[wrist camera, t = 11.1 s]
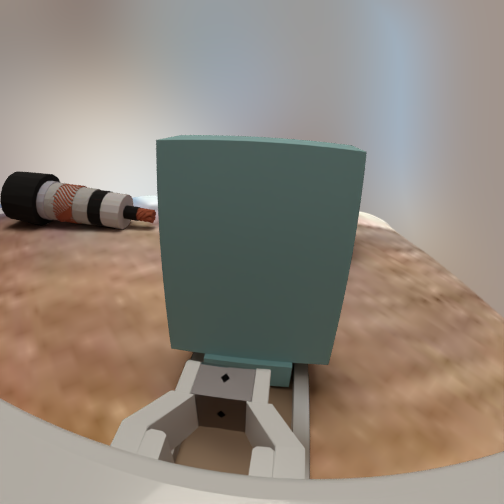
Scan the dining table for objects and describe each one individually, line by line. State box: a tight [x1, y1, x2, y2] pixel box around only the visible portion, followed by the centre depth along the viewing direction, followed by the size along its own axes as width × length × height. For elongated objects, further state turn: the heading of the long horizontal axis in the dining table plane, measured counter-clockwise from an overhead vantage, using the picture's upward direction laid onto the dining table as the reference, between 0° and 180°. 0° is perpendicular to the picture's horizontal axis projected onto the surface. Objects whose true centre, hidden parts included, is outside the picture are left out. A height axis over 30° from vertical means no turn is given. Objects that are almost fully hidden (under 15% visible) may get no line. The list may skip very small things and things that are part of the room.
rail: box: [171, 352, 310, 479], centre depth 16 cm, size 26×9×8 cm, turn 174°
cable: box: [1, 172, 156, 229], centre depth 53 cm, size 10×34×10 cm, turn 81°
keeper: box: [156, 135, 366, 387], centre depth 21 cm, size 5×11×16 cm, turn 84°
